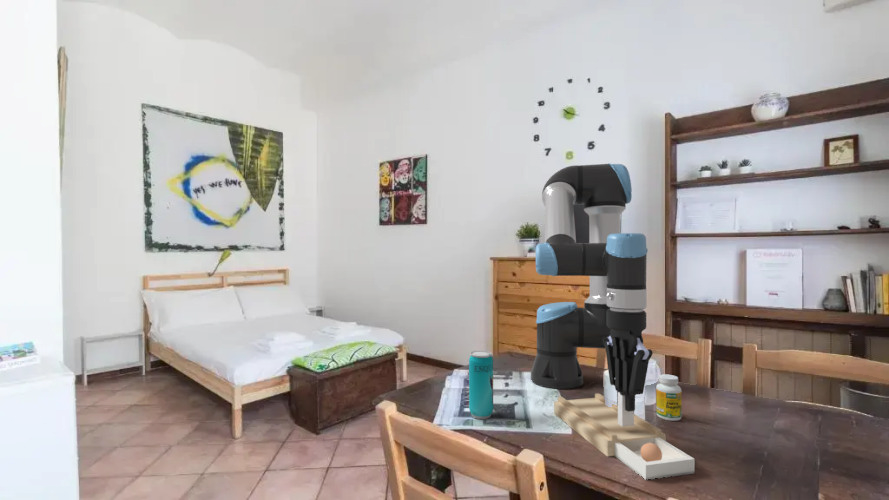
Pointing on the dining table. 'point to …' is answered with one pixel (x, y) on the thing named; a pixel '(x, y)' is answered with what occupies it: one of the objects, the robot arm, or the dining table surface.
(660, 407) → the supplement bottle
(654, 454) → the ball
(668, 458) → the dish
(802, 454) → the dining table surface
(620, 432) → the chute
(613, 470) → the dining table surface
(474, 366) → the beverage can
